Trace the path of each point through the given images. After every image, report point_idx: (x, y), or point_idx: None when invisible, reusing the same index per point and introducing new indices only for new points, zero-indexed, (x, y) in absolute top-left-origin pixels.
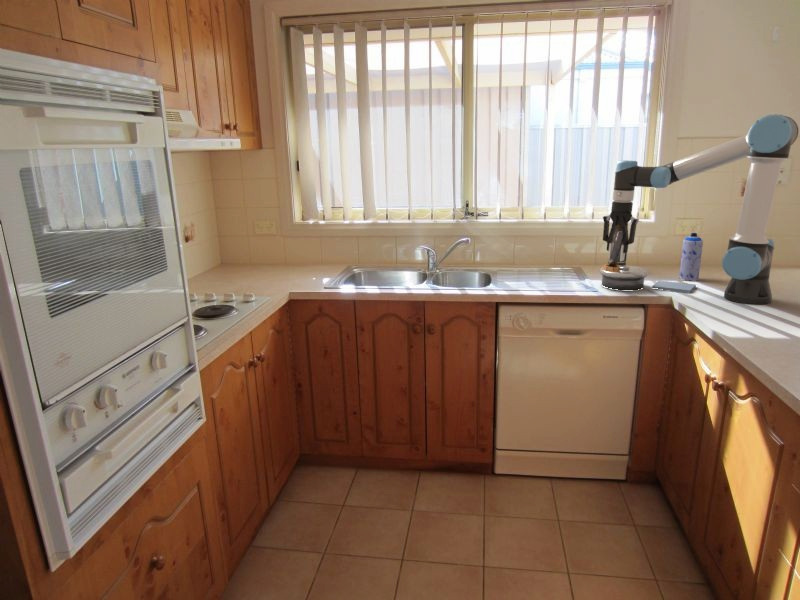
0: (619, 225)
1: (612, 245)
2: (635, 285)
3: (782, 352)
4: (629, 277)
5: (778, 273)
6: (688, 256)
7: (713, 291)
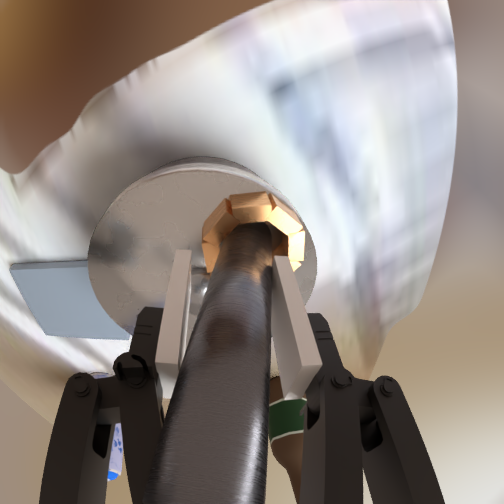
0: None
1: (287, 365)
2: None
3: None
4: (128, 187)
5: None
6: None
7: (7, 308)
